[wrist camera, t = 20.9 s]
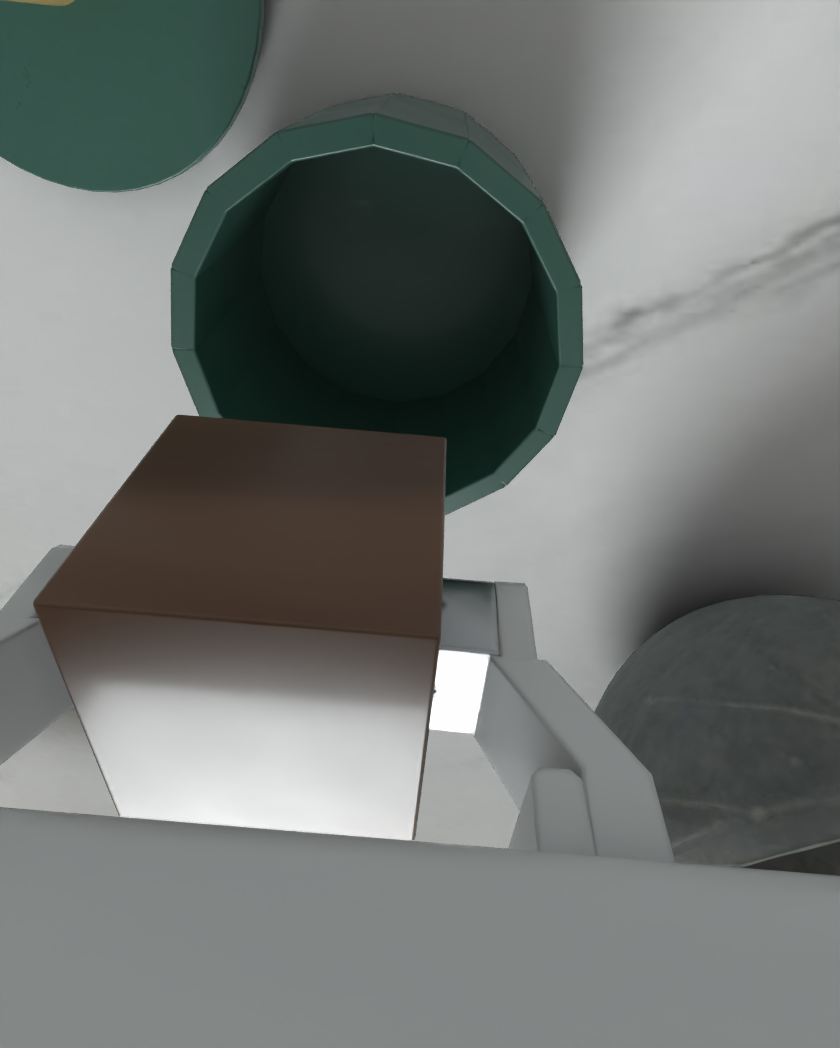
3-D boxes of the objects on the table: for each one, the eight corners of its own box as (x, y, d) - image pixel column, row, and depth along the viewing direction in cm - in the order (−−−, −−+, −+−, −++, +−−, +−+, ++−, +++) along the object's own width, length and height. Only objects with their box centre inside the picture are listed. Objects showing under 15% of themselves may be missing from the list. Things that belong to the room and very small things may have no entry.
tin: (239, 376, 28) (171, 480, 21) (259, 53, 21) (167, 55, 14) (495, 434, 29) (508, 550, 23) (594, 146, 22) (656, 189, 16)
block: (175, 412, 11) (29, 603, 7) (447, 435, 11) (442, 636, 7) (210, 608, 13) (118, 817, 10) (426, 626, 13) (415, 842, 10)
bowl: (684, 797, 47) (764, 1057, 35) (476, 664, 39) (487, 940, 27) (993, 657, 37) (1255, 953, 25) (797, 441, 29) (1041, 720, 17)
